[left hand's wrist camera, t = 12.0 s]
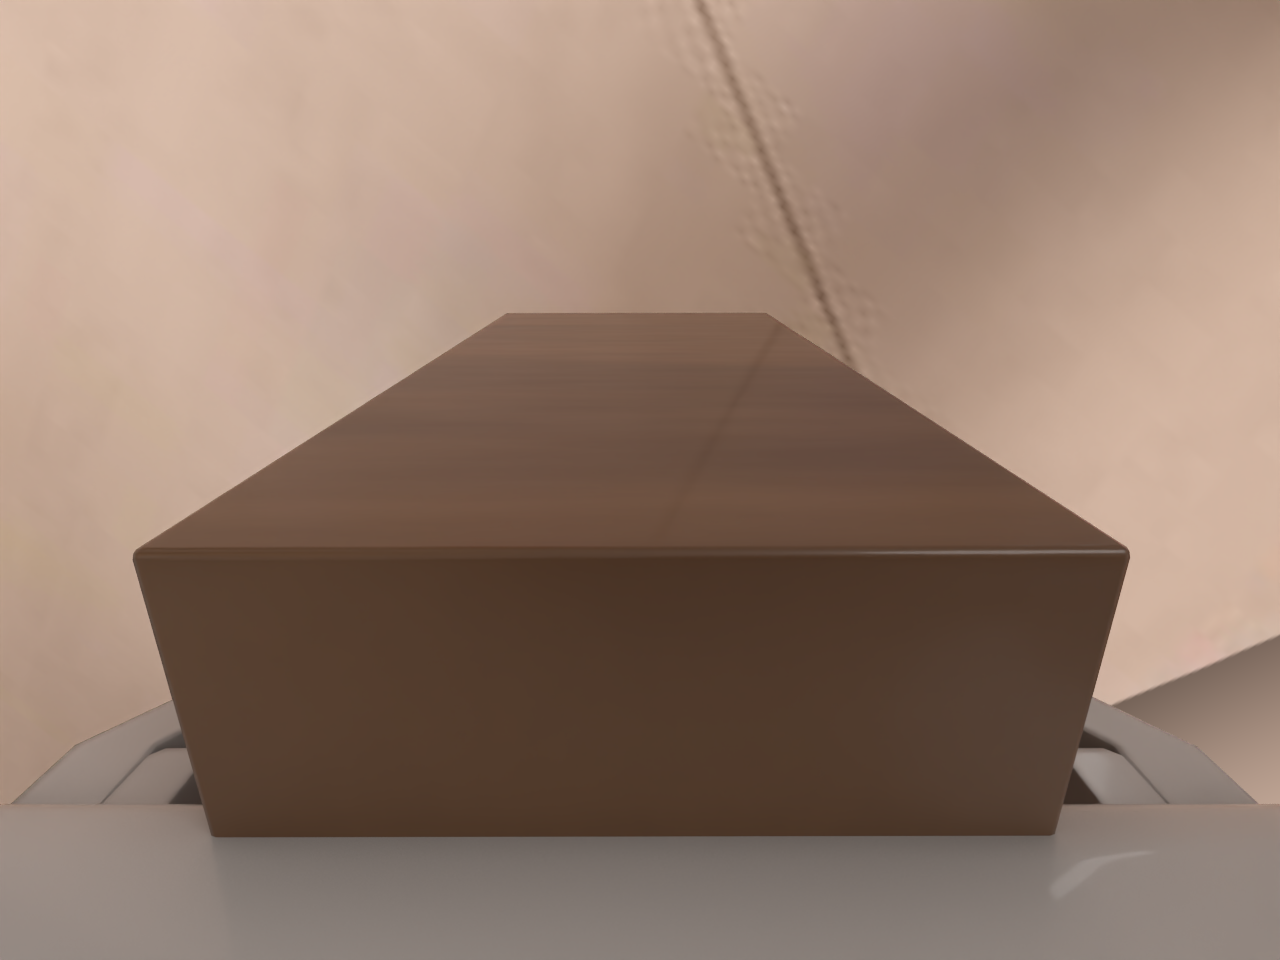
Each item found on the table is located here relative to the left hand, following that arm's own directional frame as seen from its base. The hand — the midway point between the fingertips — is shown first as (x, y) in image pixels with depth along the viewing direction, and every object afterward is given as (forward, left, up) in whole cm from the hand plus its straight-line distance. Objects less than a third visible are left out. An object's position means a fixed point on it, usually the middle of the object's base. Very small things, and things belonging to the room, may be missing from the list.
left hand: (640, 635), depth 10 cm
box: (+7, +2, -7) cm, 10 cm away
